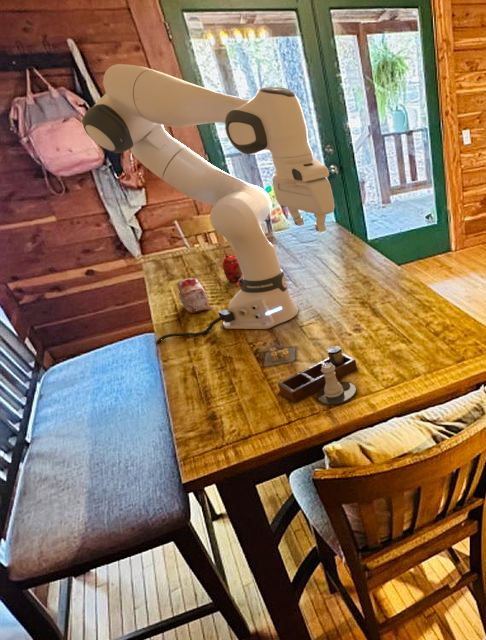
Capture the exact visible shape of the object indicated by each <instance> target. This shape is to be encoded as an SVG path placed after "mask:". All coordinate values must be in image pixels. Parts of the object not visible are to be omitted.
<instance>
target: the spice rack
mask: <svg viewBox="0 0 486 640" xmlns="http://www.w3.org/2000/svg"><path fill="white" fill-rule="evenodd" d="M342 354H343V359H344V364H342V365H340V366H338V367H336V368H335V369H334V372H335V373H336V374H335V376H336V379H337V381H338V380H340V379H342V378H344V377H346V376H348V375H349V374H351V373H354V372H355V371H356V370H358V367H357V362H356V359H355V358H353V357H351V356H349V355H348V354H345V353H343V352H342ZM326 363H328V364H329V363H330V359H329V357H327V358H325V359H323V360H321V361H319V362H317V363H315V364H313V365H311V366H308V367H307V368H305V369H303V370H301V371H299V372H298V373H295V374H293V375H292V376H288V377H287V378H285V379H283V380H281V381H279V382H277V386H278V389H279V393H280V394H281V395H283V396H284V397H285V398H287V399H288V400H290V401H292V402H293V403H294V404H295V403H298V402H300V401H301V400H303V399H305V398H307V397H309V396H311V395H312V394H315V393H316V392H318V391H321V390H322V389H323V388H324V387H325V385H326V381H325V377H324V376H323V375H324V373H323V372H322V371H321V369H322V366H323V364H325V365H326Z"/></svg>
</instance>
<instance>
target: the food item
mask: <svg viewBox="0 0 486 640" xmlns="http://www.w3.org/2000/svg"><path fill="white" fill-rule="evenodd" d="M177 288H178V290H177V293H178V297H179V300H180V301H181V304H182V306H183V307H184V309H185V310H186V311H187V312H189V313H190V314H194V313H195V314H196V313H200V312H205V311H208V310H210V309H211V307H210V301H209V298H208V296H207V292H206V291H205V289H204V287H203V285H202V284H201V282H200V281H199V280H198V279H197V278H194V277H191V278H189V277H188V278H184V279H181V280H179V281H178V282H177ZM196 310H197V311H196ZM191 311H192V312H191Z"/></svg>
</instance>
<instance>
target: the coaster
mask: <svg viewBox="0 0 486 640" xmlns="http://www.w3.org/2000/svg"><path fill="white" fill-rule="evenodd" d="M338 382H339V383H340V384H341V385H342V388H343V393H342V394H341V395H340V396H338V397H336V398H329V397H327V396H326V395H325V392H324V388H325V387H324V388H322V389H320V390H319V392H318V395H317V399H318V401H319V403H321V404H323V405H325V406H338V405H342V404H345V403H347V402H349V401H350V400H352V399H353V398H354V397H355V395H356V394H357V387H356V386H355V384H353V383H352V382H349V381H338Z"/></svg>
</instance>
